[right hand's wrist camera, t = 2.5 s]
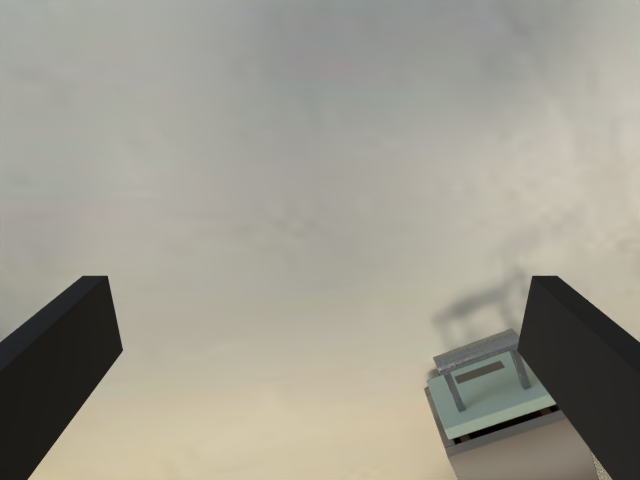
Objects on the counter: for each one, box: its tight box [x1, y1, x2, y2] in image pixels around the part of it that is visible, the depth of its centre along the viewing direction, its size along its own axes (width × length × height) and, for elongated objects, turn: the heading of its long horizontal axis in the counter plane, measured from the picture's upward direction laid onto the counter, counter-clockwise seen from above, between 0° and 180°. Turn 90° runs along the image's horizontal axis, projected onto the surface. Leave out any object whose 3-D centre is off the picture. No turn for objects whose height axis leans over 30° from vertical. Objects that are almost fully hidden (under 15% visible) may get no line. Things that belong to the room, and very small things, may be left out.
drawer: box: [427, 329, 556, 442], centre depth 37 cm, size 19×10×6 cm, turn 24°
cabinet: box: [424, 388, 599, 480], centre depth 38 cm, size 14×11×8 cm
